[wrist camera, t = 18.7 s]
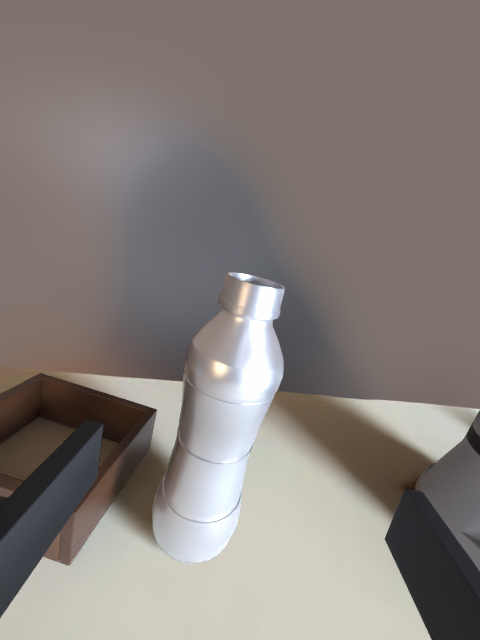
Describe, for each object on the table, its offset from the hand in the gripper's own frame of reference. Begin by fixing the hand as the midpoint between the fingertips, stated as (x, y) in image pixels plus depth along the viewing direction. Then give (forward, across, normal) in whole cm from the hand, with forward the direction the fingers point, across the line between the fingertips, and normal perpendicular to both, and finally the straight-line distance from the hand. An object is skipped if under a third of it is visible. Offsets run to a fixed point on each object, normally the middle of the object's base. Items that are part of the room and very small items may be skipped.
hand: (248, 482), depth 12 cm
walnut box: (+10, -15, -12) cm, 21 cm away
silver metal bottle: (+8, -2, -12) cm, 15 cm away
